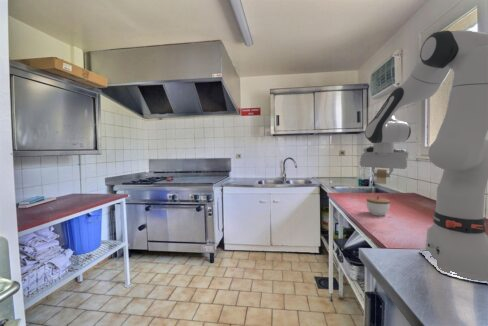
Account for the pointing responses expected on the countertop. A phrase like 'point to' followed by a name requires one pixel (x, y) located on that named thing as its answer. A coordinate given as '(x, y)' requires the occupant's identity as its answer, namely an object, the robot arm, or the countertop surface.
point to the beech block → (381, 176)
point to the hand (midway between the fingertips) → (381, 176)
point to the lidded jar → (378, 205)
